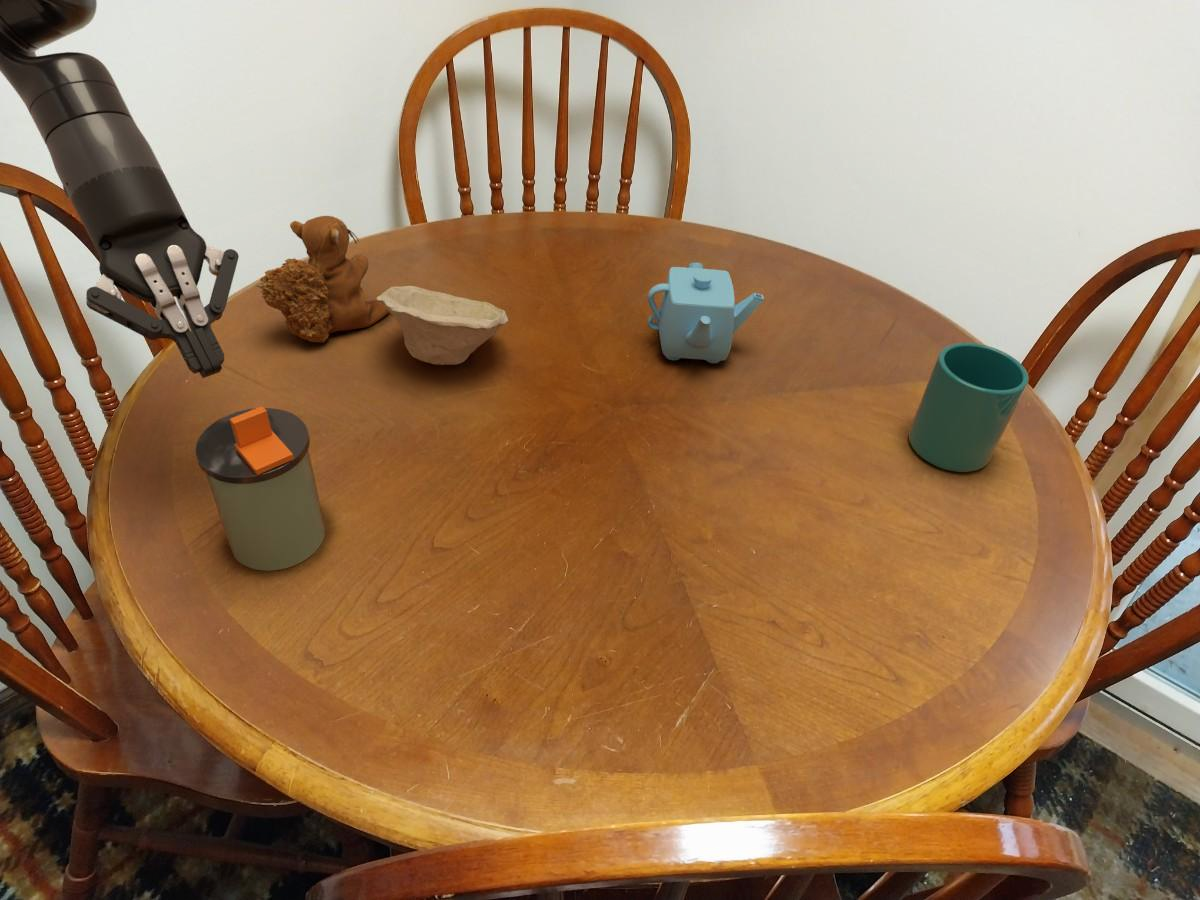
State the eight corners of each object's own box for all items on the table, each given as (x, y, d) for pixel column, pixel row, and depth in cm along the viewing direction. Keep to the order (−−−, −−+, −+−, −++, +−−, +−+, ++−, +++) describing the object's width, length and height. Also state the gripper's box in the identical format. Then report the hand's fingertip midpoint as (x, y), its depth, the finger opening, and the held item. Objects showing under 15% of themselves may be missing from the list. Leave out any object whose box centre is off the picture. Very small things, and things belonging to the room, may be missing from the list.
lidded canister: (210, 530, 79) (176, 433, 71) (300, 489, 84) (278, 394, 76) (253, 589, 74) (222, 492, 66) (346, 542, 79) (327, 446, 71)
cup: (973, 411, 101) (1009, 332, 93) (998, 479, 92) (1040, 397, 84) (896, 403, 101) (926, 323, 94) (914, 469, 92) (948, 387, 85)
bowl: (529, 344, 105) (530, 272, 99) (470, 405, 96) (466, 330, 89) (427, 311, 110) (421, 240, 103) (360, 365, 100) (349, 291, 93)
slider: (235, 449, 70) (226, 419, 68) (272, 434, 72) (264, 404, 70) (257, 475, 68) (248, 445, 66) (294, 459, 70) (287, 429, 68)
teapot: (642, 305, 114) (649, 236, 107) (745, 313, 114) (759, 245, 108) (642, 385, 100) (651, 312, 94) (760, 394, 101) (777, 321, 94)
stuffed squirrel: (396, 310, 109) (386, 214, 101) (322, 364, 99) (303, 264, 91) (334, 288, 112) (319, 194, 104) (257, 338, 102) (233, 239, 94)
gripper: (27, 184, 64) (134, 391, 66) (201, 147, 71) (294, 335, 73) (32, 222, 71) (130, 410, 72) (191, 185, 78) (277, 357, 79)
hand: (212, 372), depth 72 cm, fingers closed
